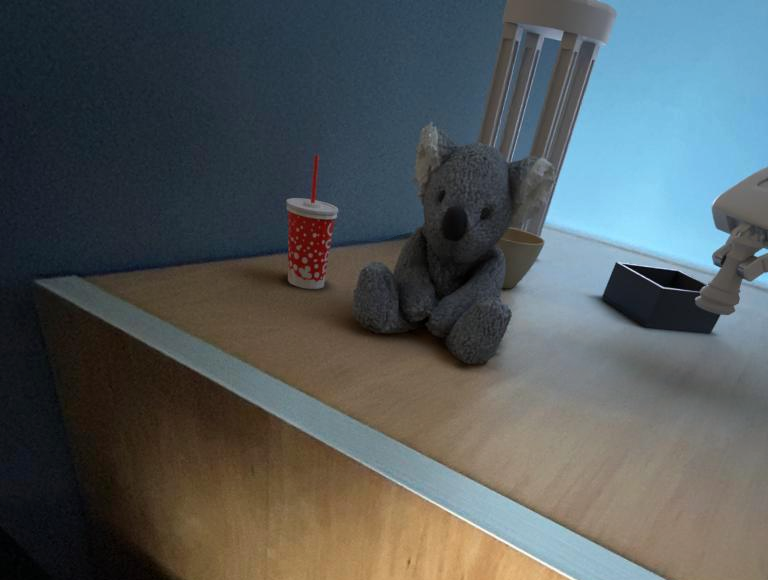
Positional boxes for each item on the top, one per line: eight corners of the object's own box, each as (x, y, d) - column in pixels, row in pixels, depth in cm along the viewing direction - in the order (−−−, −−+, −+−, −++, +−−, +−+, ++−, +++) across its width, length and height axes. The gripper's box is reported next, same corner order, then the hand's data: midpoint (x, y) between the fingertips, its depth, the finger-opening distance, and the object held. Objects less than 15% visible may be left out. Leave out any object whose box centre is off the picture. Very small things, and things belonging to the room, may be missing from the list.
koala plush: (339, 327, 62) (366, 112, 50) (396, 290, 76) (428, 115, 64) (489, 375, 59) (557, 157, 47) (520, 328, 73) (578, 150, 61)
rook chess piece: (735, 319, 63) (778, 242, 58) (694, 308, 63) (733, 231, 59) (730, 309, 66) (770, 235, 61) (691, 298, 67) (728, 225, 62)
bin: (662, 304, 95) (678, 270, 92) (710, 333, 86) (730, 296, 83) (601, 297, 92) (615, 261, 88) (644, 327, 83) (662, 288, 79)
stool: (516, 272, 95) (600, -6, 74) (437, 246, 100) (494, -20, 79) (547, 261, 106) (627, 16, 85) (474, 237, 111) (532, 2, 90)
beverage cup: (311, 294, 69) (323, 162, 60) (271, 279, 71) (277, 148, 62) (339, 285, 73) (354, 161, 65) (301, 271, 75) (310, 149, 67)
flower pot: (483, 269, 93) (496, 221, 89) (538, 288, 89) (554, 240, 85) (454, 277, 86) (466, 226, 82) (512, 298, 82) (528, 246, 78)
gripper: (776, 136, 64) (665, 219, 67) (951, 171, 49) (797, 276, 52) (783, 186, 68) (677, 262, 72) (946, 233, 53) (803, 326, 56)
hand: (729, 268), depth 62 cm, fingers closed on rook chess piece, 3 cm apart
